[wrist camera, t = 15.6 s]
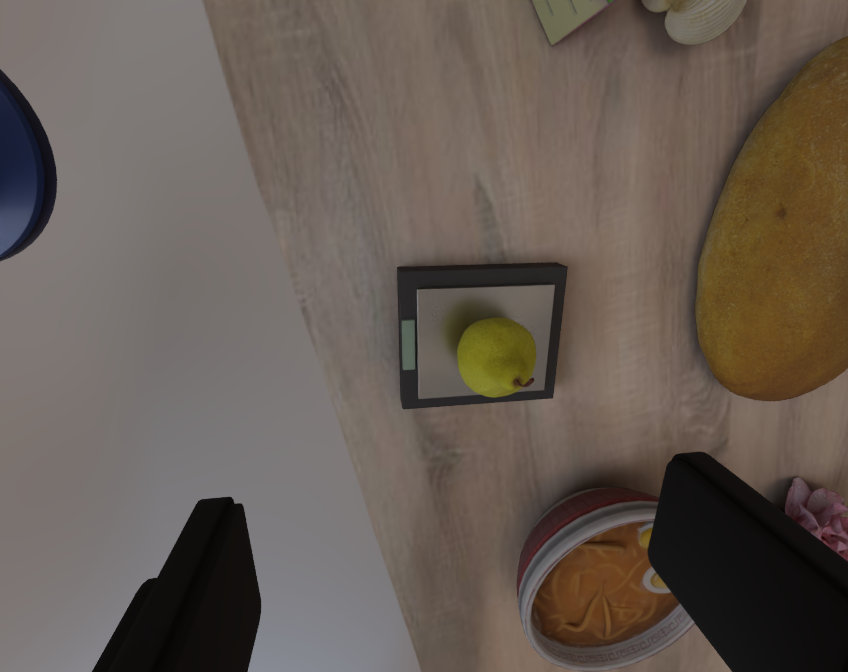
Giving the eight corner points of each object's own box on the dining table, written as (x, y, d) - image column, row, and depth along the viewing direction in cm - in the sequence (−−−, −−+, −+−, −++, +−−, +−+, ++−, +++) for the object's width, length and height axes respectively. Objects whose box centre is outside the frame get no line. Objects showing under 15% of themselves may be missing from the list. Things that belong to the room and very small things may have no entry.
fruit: (512, 376, 41) (568, 446, 30) (445, 375, 40) (477, 447, 29) (523, 309, 39) (588, 358, 28) (452, 306, 38) (490, 355, 27)
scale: (400, 398, 44) (402, 411, 41) (397, 266, 39) (399, 272, 37) (543, 388, 46) (554, 400, 43) (556, 262, 41) (569, 267, 39)
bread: (906, 41, 39) (1078, -6, 30) (805, 378, 51) (904, 421, 41) (730, 41, 37) (856, -9, 27) (667, 393, 49) (740, 442, 39)
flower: (838, 564, 59) (918, 615, 49) (732, 575, 60) (791, 628, 50) (830, 463, 58) (910, 495, 48) (723, 475, 59) (781, 509, 49)
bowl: (683, 454, 52) (753, 512, 43) (636, 590, 59) (688, 664, 50) (510, 455, 48) (545, 518, 39) (483, 599, 56) (508, 682, 46)
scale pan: (417, 395, 41) (418, 399, 41) (416, 287, 38) (417, 289, 37) (541, 386, 43) (544, 390, 42) (551, 282, 39) (555, 284, 39)
